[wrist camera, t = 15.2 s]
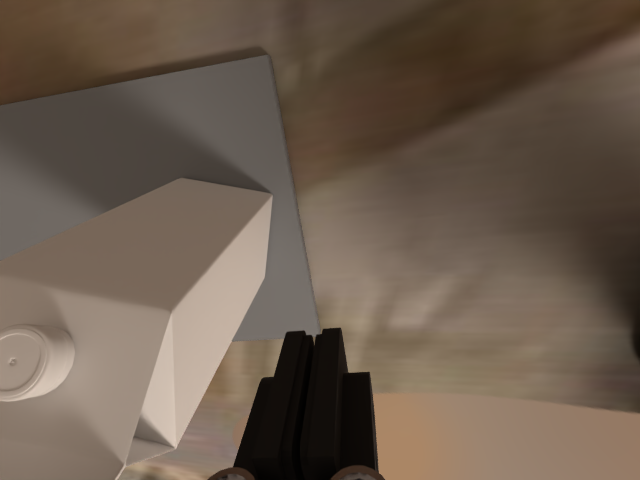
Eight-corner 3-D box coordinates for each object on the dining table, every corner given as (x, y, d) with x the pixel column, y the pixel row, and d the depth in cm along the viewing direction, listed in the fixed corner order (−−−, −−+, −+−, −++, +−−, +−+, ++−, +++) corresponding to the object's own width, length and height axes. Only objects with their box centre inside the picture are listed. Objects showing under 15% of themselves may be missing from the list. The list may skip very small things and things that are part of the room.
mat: (270, 55, 22) (267, 54, 22) (320, 330, 31) (319, 336, 30) (-74, 120, 27) (-86, 121, 26) (50, 346, 35) (44, 351, 34)
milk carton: (265, 276, 28) (112, 572, 11) (181, 260, 28) (-102, 525, 11) (274, 192, 25) (83, 411, 8) (180, 176, 25) (-206, 352, 8)
